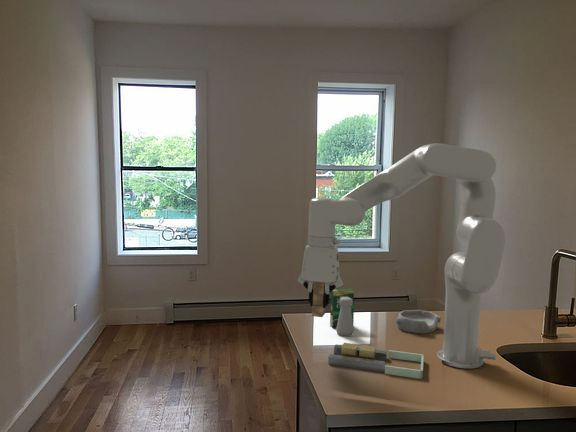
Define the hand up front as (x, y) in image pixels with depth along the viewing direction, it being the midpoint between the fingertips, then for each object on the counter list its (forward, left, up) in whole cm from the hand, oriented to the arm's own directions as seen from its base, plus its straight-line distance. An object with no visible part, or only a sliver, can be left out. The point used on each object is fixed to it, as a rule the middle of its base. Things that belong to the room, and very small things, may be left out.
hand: (318, 305), depth 134 cm
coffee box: (-1, -31, -16) cm, 35 cm away
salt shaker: (-4, -21, -16) cm, 27 cm away
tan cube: (-9, 0, -15) cm, 17 cm away
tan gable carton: (0, 0, -3) cm, 3 cm away
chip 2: (-14, 0, -15) cm, 20 cm away
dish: (-26, -39, -16) cm, 50 cm away
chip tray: (-24, 0, -16) cm, 29 cm away
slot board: (-12, 0, -16) cm, 20 cm away
